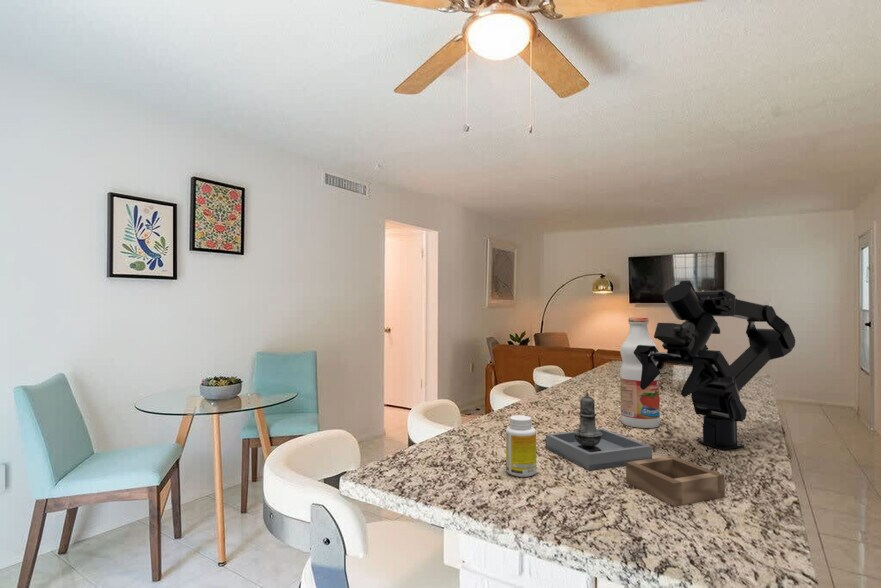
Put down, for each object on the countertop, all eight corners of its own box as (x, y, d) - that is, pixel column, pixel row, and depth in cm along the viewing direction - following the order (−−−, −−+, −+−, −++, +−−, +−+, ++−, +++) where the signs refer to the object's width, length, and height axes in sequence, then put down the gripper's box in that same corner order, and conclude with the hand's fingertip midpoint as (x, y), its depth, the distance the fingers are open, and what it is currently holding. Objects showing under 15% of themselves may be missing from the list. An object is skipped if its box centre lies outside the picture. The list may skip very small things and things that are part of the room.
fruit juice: (629, 418, 129) (627, 317, 130) (665, 424, 123) (663, 317, 124) (614, 424, 123) (613, 317, 124) (652, 431, 116) (649, 318, 117)
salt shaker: (593, 456, 93) (592, 395, 94) (567, 449, 98) (567, 391, 98) (608, 450, 97) (607, 392, 98) (582, 444, 102) (582, 388, 102)
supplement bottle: (542, 475, 86) (542, 419, 86) (517, 480, 84) (517, 422, 84) (524, 466, 91) (524, 413, 91) (500, 470, 89) (499, 416, 89)
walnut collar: (672, 475, 86) (672, 455, 86) (724, 496, 76) (724, 474, 76) (626, 482, 82) (625, 462, 82) (674, 506, 72) (673, 483, 72)
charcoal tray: (602, 441, 107) (602, 428, 107) (652, 461, 93) (652, 446, 93) (545, 448, 102) (545, 434, 102) (589, 470, 88) (589, 454, 88)
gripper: (638, 309, 106) (604, 361, 101) (721, 309, 90) (686, 370, 84) (661, 342, 110) (630, 394, 104) (745, 348, 93) (713, 410, 88)
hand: (661, 391), depth 95 cm, fingers open, 9 cm apart
